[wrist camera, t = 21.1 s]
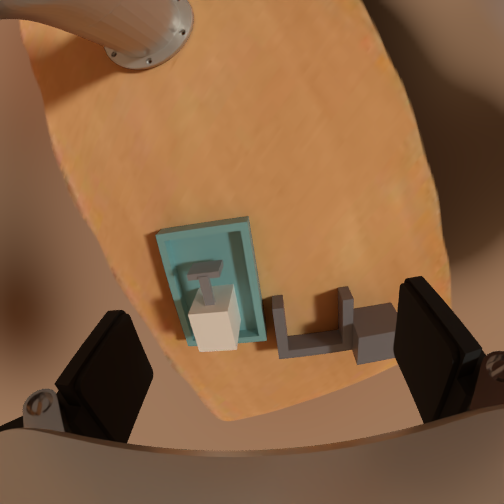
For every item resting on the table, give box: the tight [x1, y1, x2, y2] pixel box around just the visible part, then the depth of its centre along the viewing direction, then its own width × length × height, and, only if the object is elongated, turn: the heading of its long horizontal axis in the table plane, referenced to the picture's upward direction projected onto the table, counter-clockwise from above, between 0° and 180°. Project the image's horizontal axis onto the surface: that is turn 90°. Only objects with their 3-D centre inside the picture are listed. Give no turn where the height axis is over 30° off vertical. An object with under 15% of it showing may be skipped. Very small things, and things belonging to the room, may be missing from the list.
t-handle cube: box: [187, 260, 241, 352], centre depth 40 cm, size 10×5×7 cm, turn 9°
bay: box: [272, 286, 397, 365], centre depth 41 cm, size 9×18×7 cm, turn 99°
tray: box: [156, 216, 267, 346], centre depth 42 cm, size 18×12×2 cm, turn 9°
